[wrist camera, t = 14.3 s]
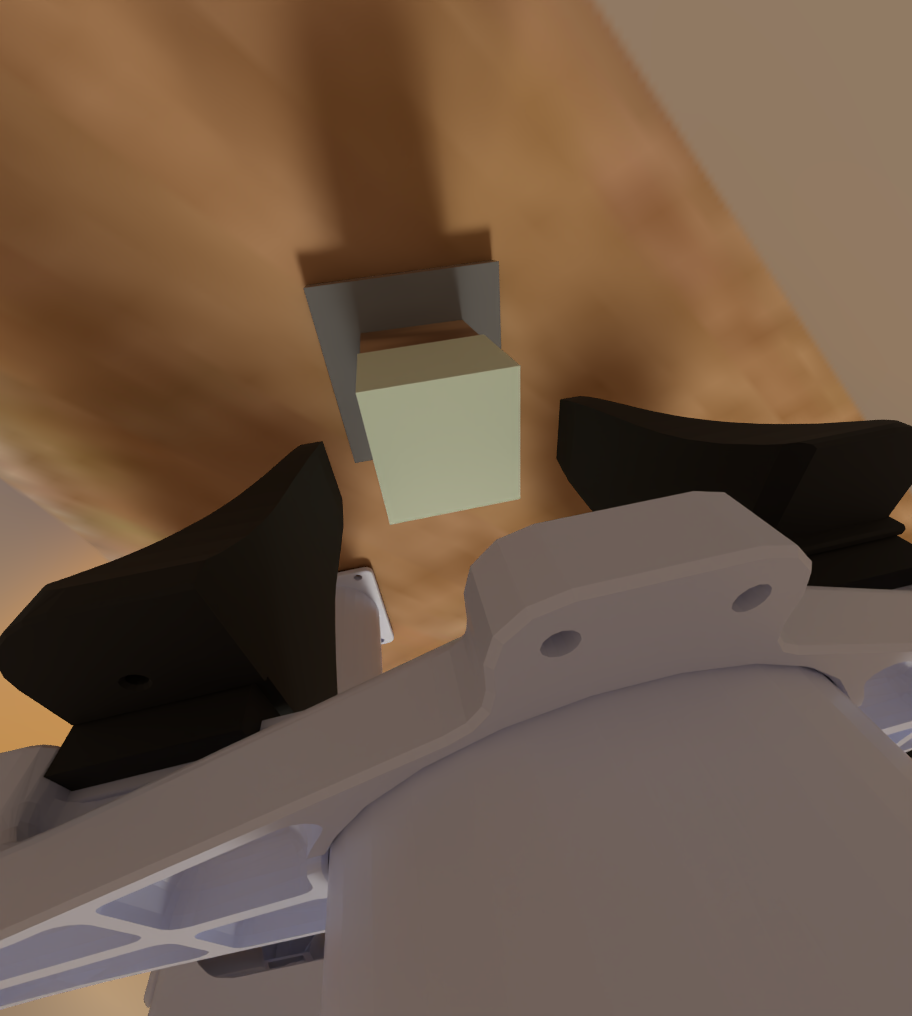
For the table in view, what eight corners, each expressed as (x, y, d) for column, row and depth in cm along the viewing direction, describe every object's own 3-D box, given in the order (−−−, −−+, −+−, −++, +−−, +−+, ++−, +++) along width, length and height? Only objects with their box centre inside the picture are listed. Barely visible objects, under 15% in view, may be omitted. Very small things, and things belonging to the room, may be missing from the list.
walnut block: (381, 429, 19) (384, 468, 16) (360, 333, 17) (359, 358, 13) (468, 415, 20) (489, 451, 17) (462, 319, 17) (485, 340, 14)
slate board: (355, 454, 21) (355, 463, 20) (306, 285, 16) (303, 288, 15) (498, 428, 22) (503, 435, 21) (492, 259, 17) (498, 261, 16)
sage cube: (384, 465, 16) (390, 524, 13) (357, 353, 13) (355, 392, 10) (489, 446, 16) (520, 498, 13) (483, 334, 14) (520, 365, 11)
